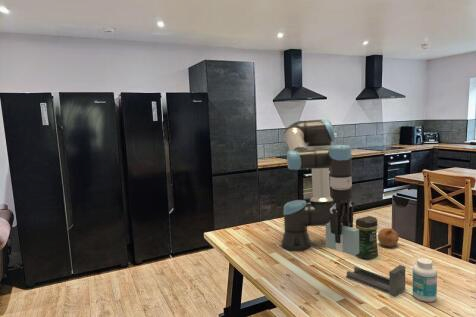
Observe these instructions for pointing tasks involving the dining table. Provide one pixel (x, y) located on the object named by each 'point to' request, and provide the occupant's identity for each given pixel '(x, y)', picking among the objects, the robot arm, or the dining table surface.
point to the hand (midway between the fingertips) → (342, 249)
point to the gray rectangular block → (344, 239)
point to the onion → (388, 237)
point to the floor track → (381, 280)
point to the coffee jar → (367, 237)
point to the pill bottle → (424, 280)
